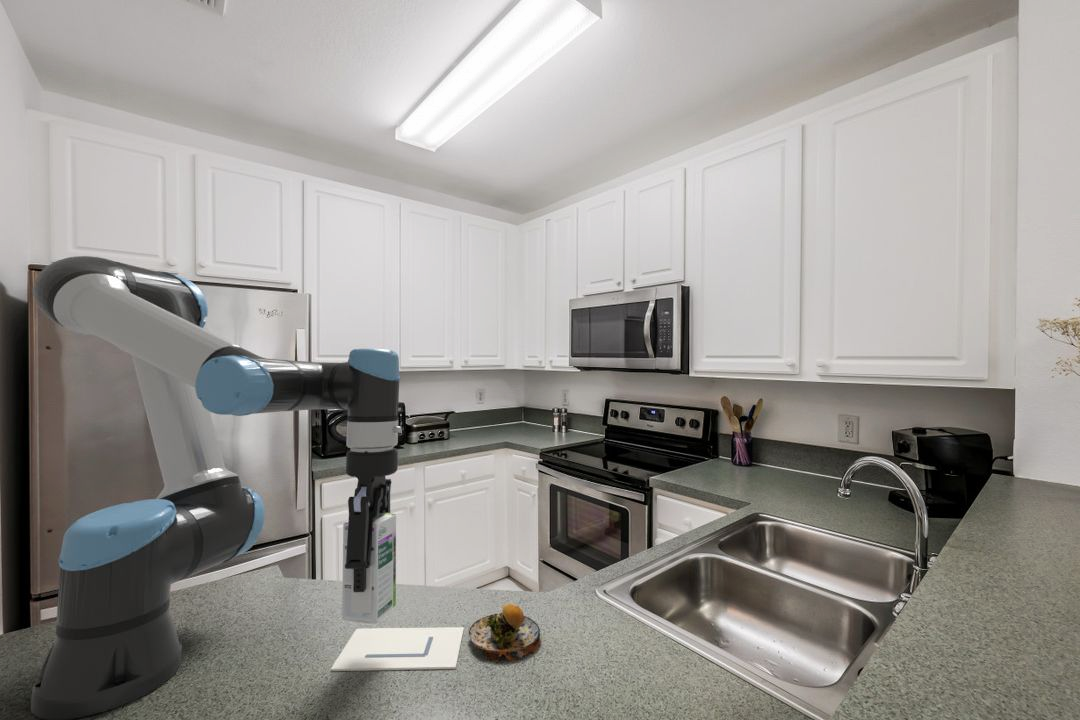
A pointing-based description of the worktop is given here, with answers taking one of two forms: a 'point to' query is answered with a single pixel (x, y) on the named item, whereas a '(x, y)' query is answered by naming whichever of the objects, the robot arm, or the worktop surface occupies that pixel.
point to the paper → (401, 649)
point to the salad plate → (506, 634)
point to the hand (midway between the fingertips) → (369, 599)
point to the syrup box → (375, 571)
